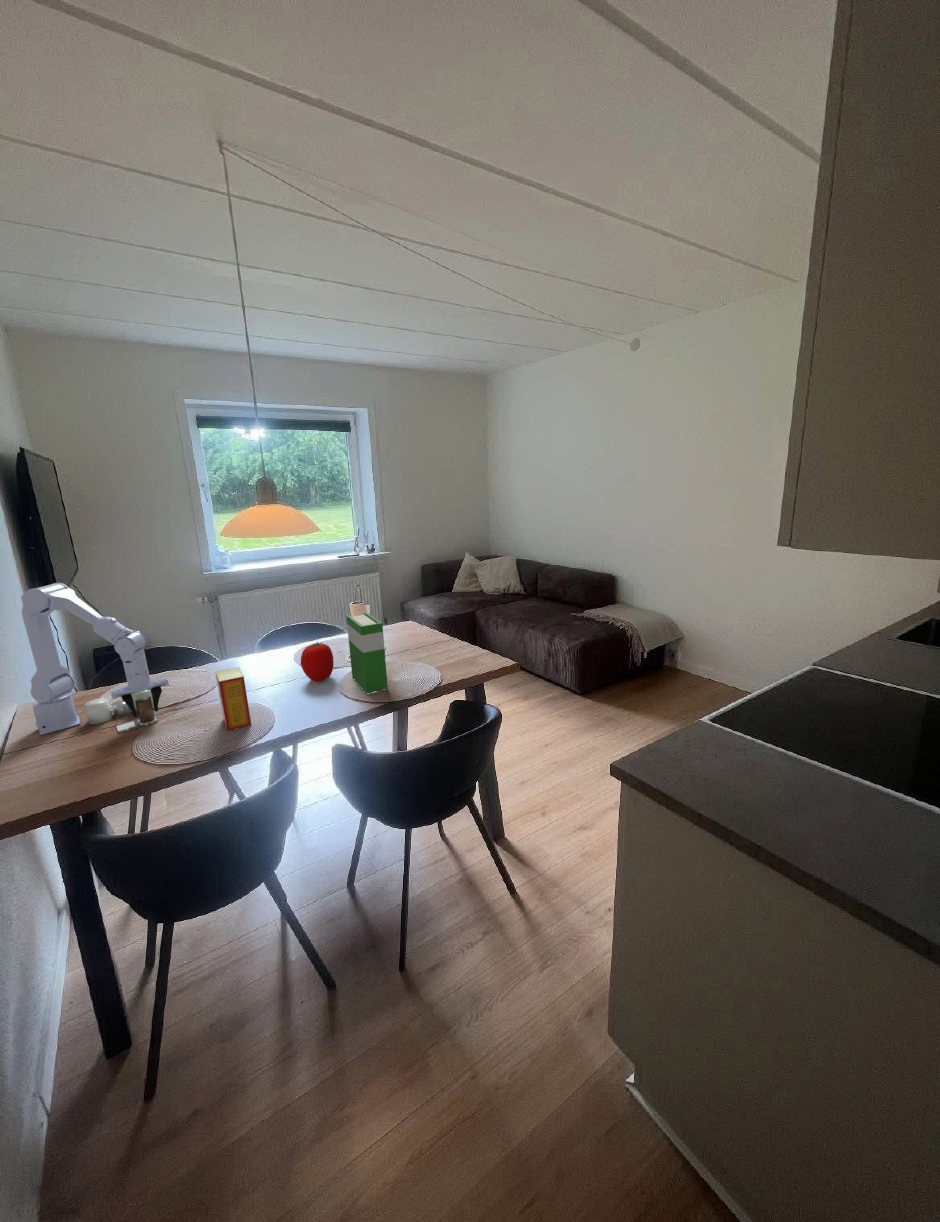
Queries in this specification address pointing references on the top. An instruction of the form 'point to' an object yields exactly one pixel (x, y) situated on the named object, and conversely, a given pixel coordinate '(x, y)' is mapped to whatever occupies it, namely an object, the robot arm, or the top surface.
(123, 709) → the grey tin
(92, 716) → the mug white
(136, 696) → the mug sage
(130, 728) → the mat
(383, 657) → the hardback book
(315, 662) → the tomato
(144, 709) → the walnut peg
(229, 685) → the baking soda box
